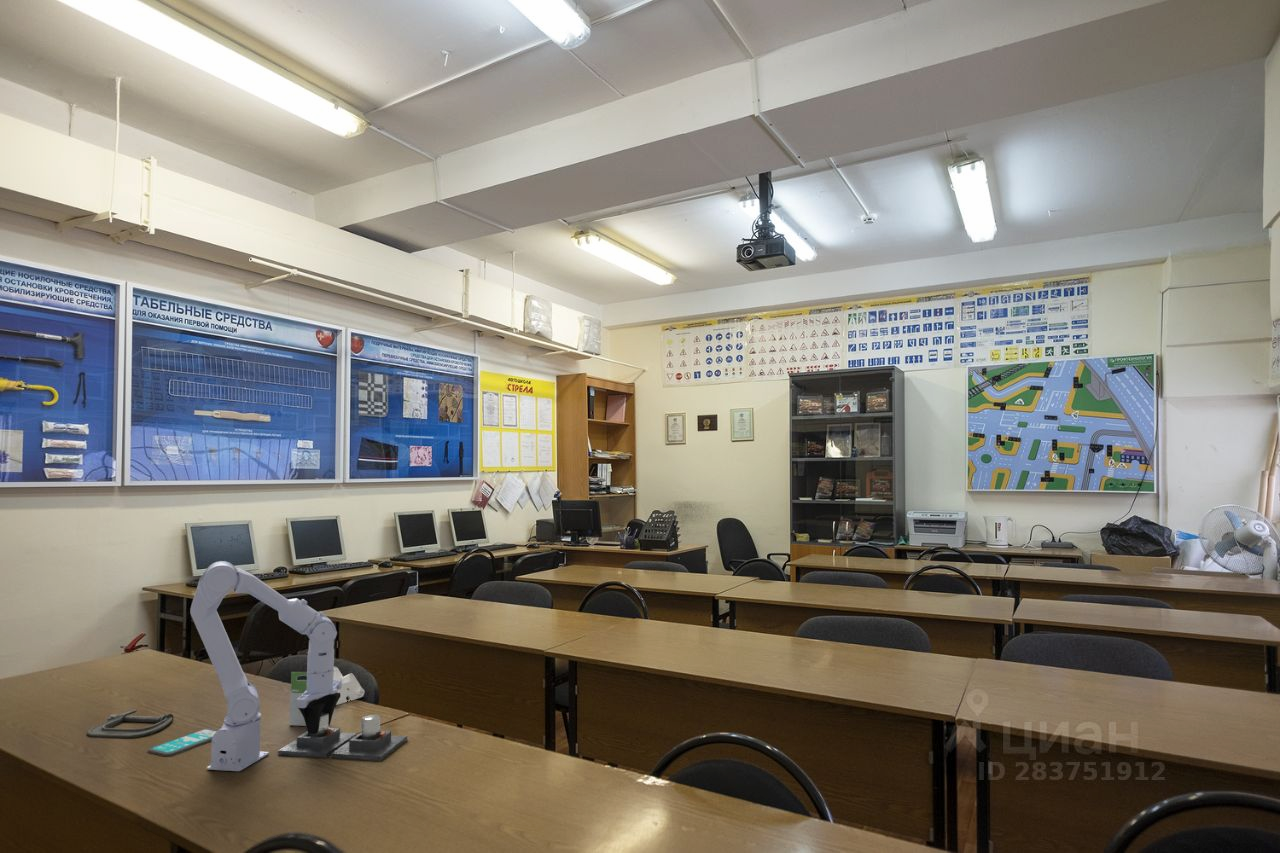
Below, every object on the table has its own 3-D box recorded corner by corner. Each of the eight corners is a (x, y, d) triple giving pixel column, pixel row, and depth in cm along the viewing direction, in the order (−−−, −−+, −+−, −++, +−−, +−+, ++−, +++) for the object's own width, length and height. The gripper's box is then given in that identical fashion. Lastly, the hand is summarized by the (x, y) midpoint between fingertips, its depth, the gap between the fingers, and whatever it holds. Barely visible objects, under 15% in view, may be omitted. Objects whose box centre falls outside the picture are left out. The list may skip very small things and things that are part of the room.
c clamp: (68, 736, 167) (69, 725, 168) (134, 712, 184) (134, 702, 185) (136, 743, 163) (137, 731, 163) (197, 718, 180) (198, 707, 180)
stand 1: (326, 757, 153) (327, 740, 153) (277, 755, 155) (278, 738, 155) (356, 737, 165) (356, 721, 165) (310, 735, 166) (311, 719, 167)
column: (374, 748, 155) (374, 721, 156) (357, 747, 156) (357, 720, 156) (383, 741, 159) (383, 715, 160) (366, 740, 160) (367, 714, 160)
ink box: (323, 721, 176) (325, 668, 177) (314, 727, 172) (316, 672, 173) (298, 720, 176) (299, 667, 177) (288, 726, 173) (290, 671, 173)
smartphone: (231, 731, 168) (169, 754, 154) (231, 735, 168) (169, 758, 154) (207, 726, 171) (144, 748, 157) (207, 730, 171) (144, 752, 157)
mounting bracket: (354, 700, 198) (345, 664, 201) (367, 695, 195) (358, 657, 198) (315, 713, 188) (307, 674, 191) (328, 707, 185) (319, 667, 188)
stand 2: (381, 761, 151) (381, 743, 151) (330, 758, 153) (331, 741, 153) (407, 740, 163) (407, 724, 163) (360, 737, 164) (360, 721, 165)
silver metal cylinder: (321, 745, 157) (322, 718, 158) (305, 744, 158) (305, 717, 158) (331, 738, 161) (332, 712, 162) (315, 737, 162) (316, 711, 162)
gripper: (317, 679, 153) (315, 742, 152) (353, 662, 167) (352, 719, 166) (288, 678, 154) (286, 740, 153) (327, 661, 168) (325, 718, 167)
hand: (318, 729), depth 160 cm, fingers closed on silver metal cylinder, 4 cm apart
